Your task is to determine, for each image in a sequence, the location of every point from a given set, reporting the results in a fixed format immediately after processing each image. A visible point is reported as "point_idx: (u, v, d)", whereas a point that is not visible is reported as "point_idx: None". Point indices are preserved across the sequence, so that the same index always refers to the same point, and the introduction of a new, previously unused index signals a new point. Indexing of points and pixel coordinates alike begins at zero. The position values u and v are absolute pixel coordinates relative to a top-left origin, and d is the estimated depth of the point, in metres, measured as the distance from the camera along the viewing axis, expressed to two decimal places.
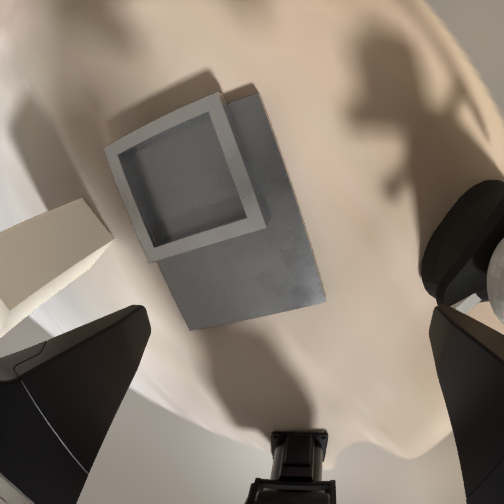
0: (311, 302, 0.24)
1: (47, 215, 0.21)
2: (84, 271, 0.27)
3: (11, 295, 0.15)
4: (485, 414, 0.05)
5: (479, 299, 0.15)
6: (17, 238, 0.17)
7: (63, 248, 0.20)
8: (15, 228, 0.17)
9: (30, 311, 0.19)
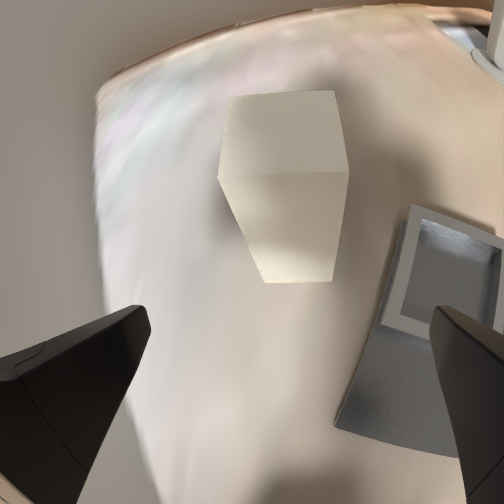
0: None
1: None
2: (267, 277, 0.23)
3: None
4: (485, 414, 0.05)
5: None
6: None
7: None
8: None
9: (251, 224, 0.15)
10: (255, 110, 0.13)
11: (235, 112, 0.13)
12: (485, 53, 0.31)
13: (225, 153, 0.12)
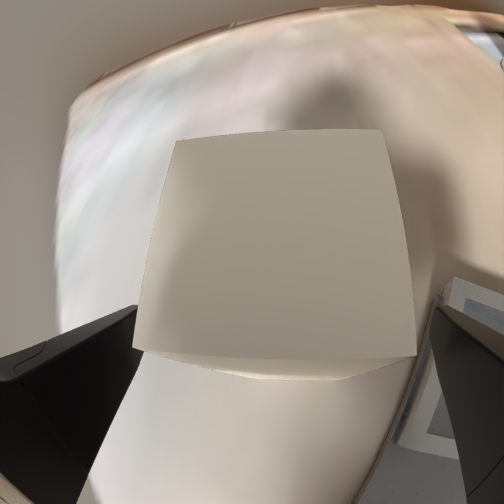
0: None
1: None
2: None
3: None
4: (485, 414, 0.05)
5: None
6: None
7: None
8: None
9: (220, 368, 0.09)
10: (220, 174, 0.07)
11: (181, 177, 0.07)
12: None
13: (150, 285, 0.06)
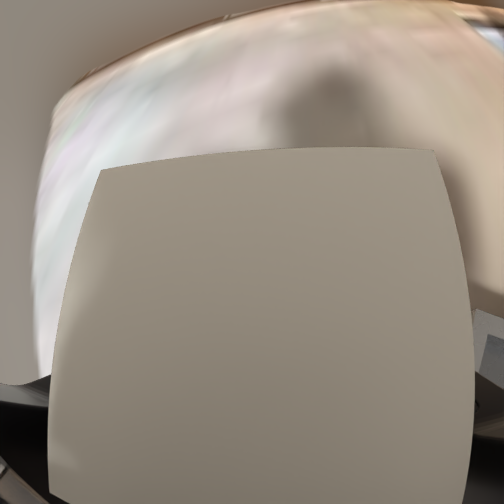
0: None
1: None
2: None
3: None
4: None
5: None
6: None
7: None
8: None
9: None
10: (155, 234, 0.04)
11: (98, 237, 0.04)
12: None
13: (58, 418, 0.03)
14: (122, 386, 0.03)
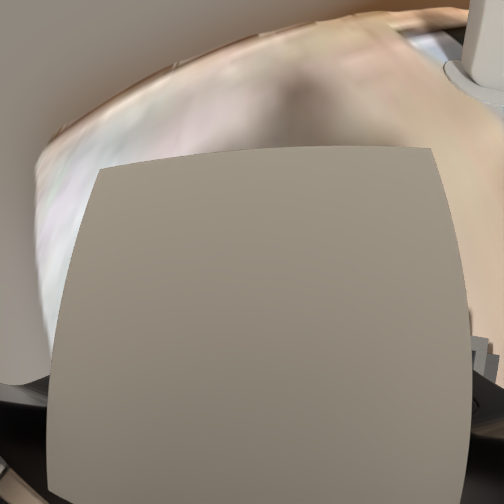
0: None
1: None
2: None
3: None
4: None
5: None
6: None
7: None
8: None
9: None
10: (153, 232, 0.04)
11: (97, 235, 0.04)
12: (460, 65, 0.30)
13: (57, 415, 0.03)
14: (120, 383, 0.03)
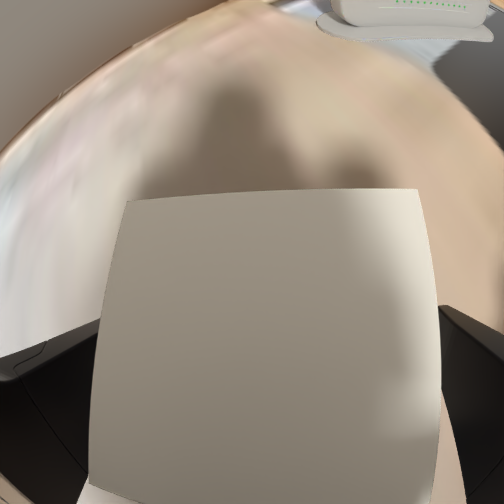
0: None
1: None
2: None
3: None
4: (485, 414, 0.05)
5: None
6: None
7: None
8: None
9: None
10: (181, 264, 0.05)
11: (130, 264, 0.05)
12: (335, 15, 0.32)
13: (99, 418, 0.04)
14: (158, 389, 0.04)
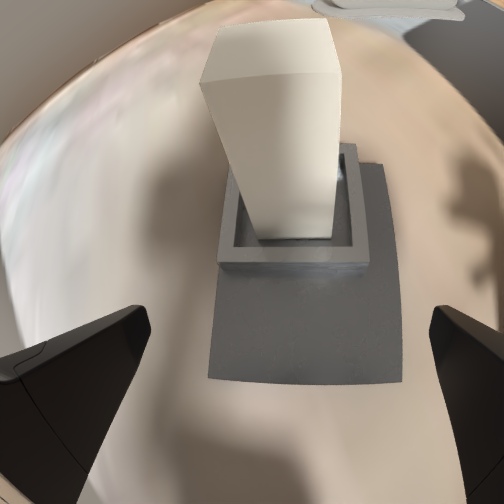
0: (385, 379, 0.16)
1: None
2: (260, 231, 0.21)
3: None
4: (485, 414, 0.05)
5: None
6: None
7: None
8: None
9: (238, 150, 0.13)
10: (244, 33, 0.11)
11: (224, 36, 0.11)
12: (327, 0, 0.38)
13: (210, 64, 0.10)
14: (237, 53, 0.10)
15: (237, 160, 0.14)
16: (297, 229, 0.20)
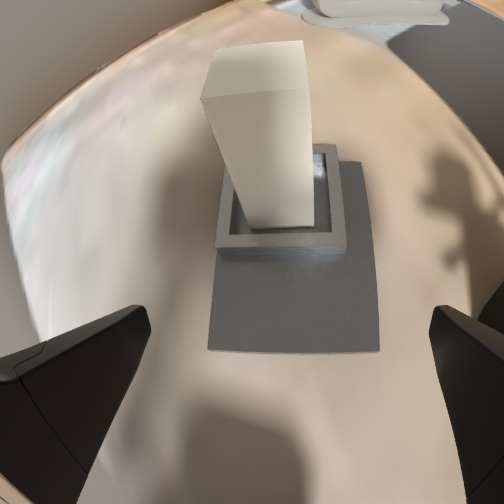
0: (363, 348, 0.20)
1: None
2: (252, 221, 0.24)
3: None
4: (485, 414, 0.05)
5: None
6: None
7: None
8: None
9: (231, 150, 0.17)
10: (235, 55, 0.15)
11: (219, 58, 0.15)
12: (316, 10, 0.42)
13: (208, 83, 0.14)
14: (229, 73, 0.14)
15: (231, 159, 0.17)
16: (284, 218, 0.23)
